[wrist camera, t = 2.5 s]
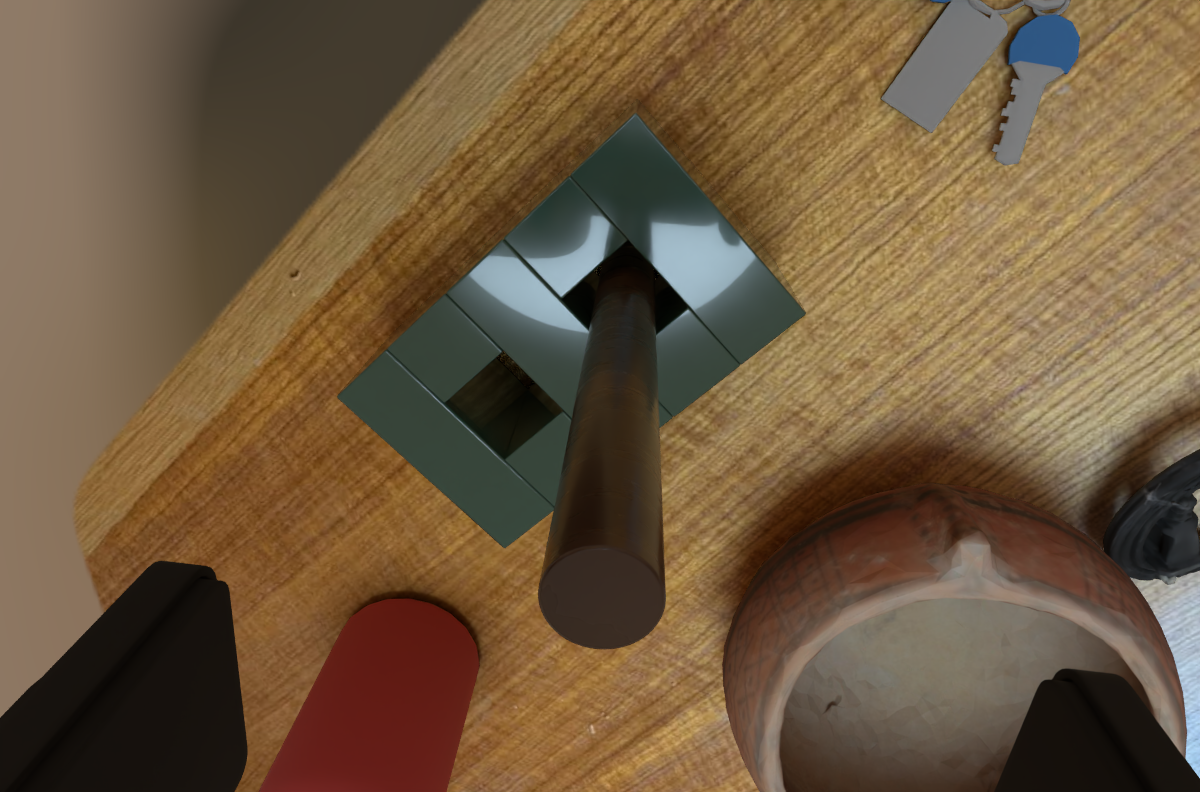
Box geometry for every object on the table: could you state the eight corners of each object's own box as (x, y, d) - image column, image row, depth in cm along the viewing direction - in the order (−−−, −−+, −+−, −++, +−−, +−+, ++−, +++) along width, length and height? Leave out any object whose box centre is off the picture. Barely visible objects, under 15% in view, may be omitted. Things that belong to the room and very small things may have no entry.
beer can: (339, 582, 36) (207, 817, 25) (484, 598, 36) (415, 839, 25) (345, 693, 39) (227, 948, 28) (479, 708, 39) (415, 969, 28)
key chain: (1254, -212, 23) (1275, -221, 22) (1261, 79, 26) (1280, 80, 25) (775, -30, 25) (779, -32, 25) (832, 217, 28) (837, 222, 28)
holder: (527, 466, 33) (504, 550, 28) (389, 335, 31) (335, 397, 26) (777, 263, 29) (807, 314, 24) (637, 98, 27) (635, 111, 22)
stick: (601, 276, 30) (533, 643, 12) (606, 228, 29) (541, 539, 11) (649, 281, 30) (657, 657, 12) (655, 233, 29) (673, 554, 11)
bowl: (935, 363, 31) (1059, 500, 21) (1157, 606, 35) (1342, 809, 25) (641, 593, 36) (640, 783, 26) (864, 782, 40) (930, 1004, 30)
